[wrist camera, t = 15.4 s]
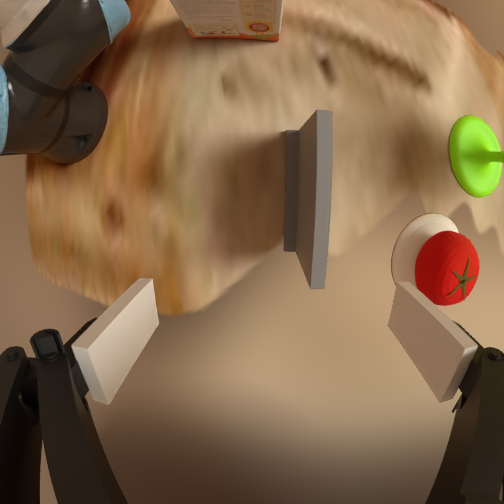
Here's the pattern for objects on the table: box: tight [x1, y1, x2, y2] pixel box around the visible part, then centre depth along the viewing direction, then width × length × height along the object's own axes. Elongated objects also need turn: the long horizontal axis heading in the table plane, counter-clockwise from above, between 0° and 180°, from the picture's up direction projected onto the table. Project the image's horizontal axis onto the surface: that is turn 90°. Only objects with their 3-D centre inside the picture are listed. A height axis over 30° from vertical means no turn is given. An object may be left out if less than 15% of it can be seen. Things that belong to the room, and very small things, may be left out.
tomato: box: [415, 230, 479, 306], centre depth 36 cm, size 11×12×10 cm
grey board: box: [284, 110, 332, 289], centre depth 33 cm, size 18×5×15 cm, turn 0°
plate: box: [391, 213, 459, 288], centre depth 42 cm, size 16×16×1 cm
